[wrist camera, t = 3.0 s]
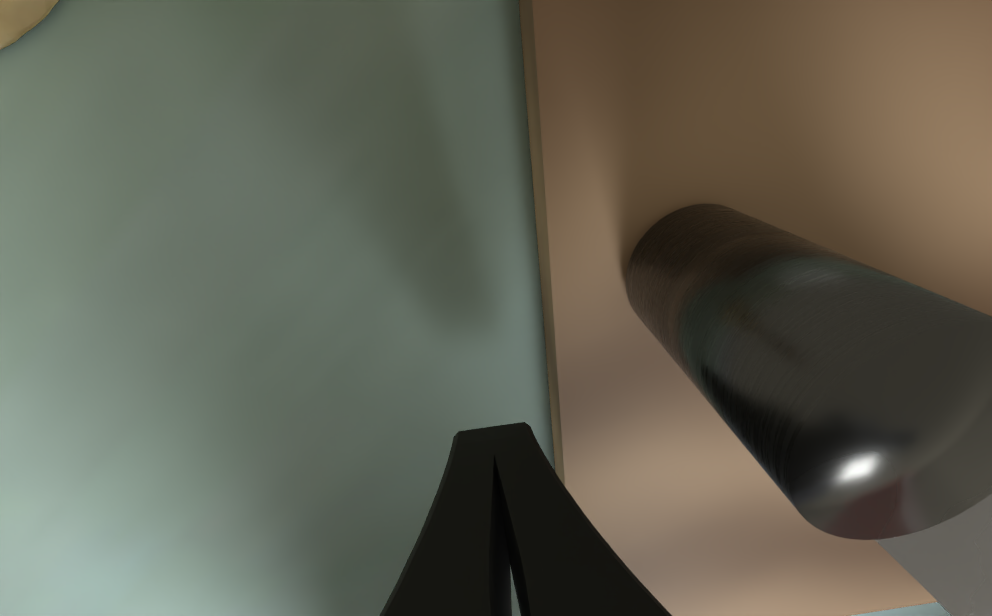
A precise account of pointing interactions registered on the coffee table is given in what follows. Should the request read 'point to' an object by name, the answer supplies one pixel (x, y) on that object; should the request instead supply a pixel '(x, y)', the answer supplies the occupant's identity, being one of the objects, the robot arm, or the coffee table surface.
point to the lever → (836, 386)
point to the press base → (760, 194)
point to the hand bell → (21, 18)
